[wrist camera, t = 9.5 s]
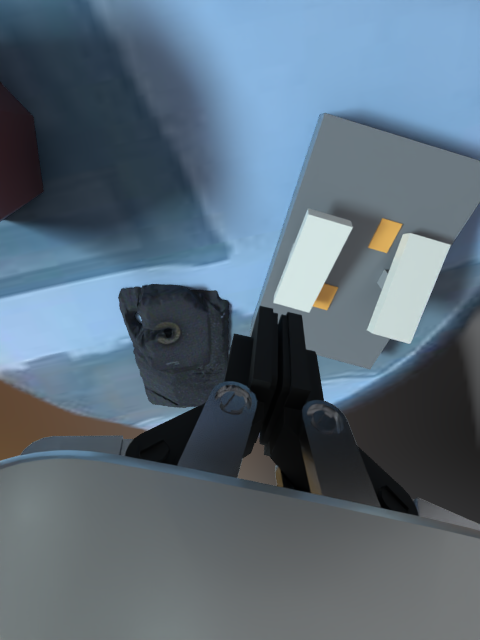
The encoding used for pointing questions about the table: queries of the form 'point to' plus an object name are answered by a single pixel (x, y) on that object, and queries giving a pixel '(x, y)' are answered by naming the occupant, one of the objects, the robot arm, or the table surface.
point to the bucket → (17, 156)
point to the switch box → (368, 224)
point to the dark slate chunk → (177, 341)
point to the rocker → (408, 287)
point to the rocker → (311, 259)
